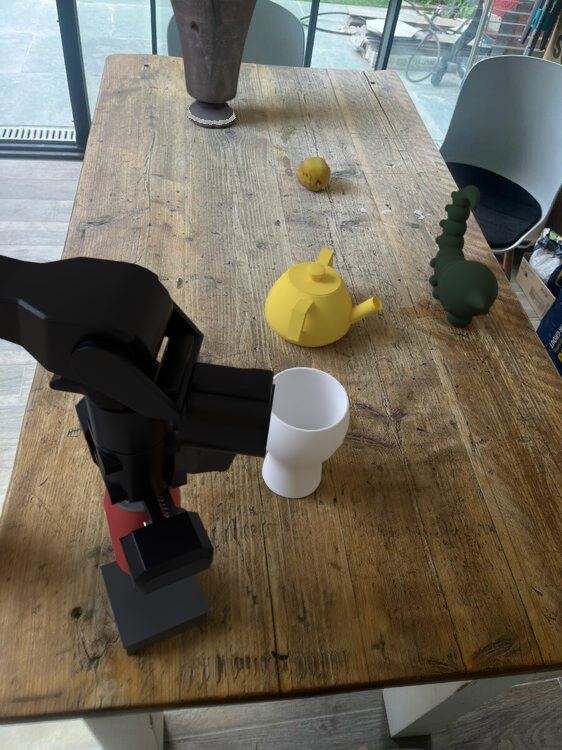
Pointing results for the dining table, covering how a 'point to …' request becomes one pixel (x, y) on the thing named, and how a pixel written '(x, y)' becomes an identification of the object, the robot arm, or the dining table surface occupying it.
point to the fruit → (314, 173)
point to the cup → (303, 429)
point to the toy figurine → (461, 265)
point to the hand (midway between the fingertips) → (146, 526)
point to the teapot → (314, 304)
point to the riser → (152, 608)
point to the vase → (212, 52)
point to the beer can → (129, 520)
